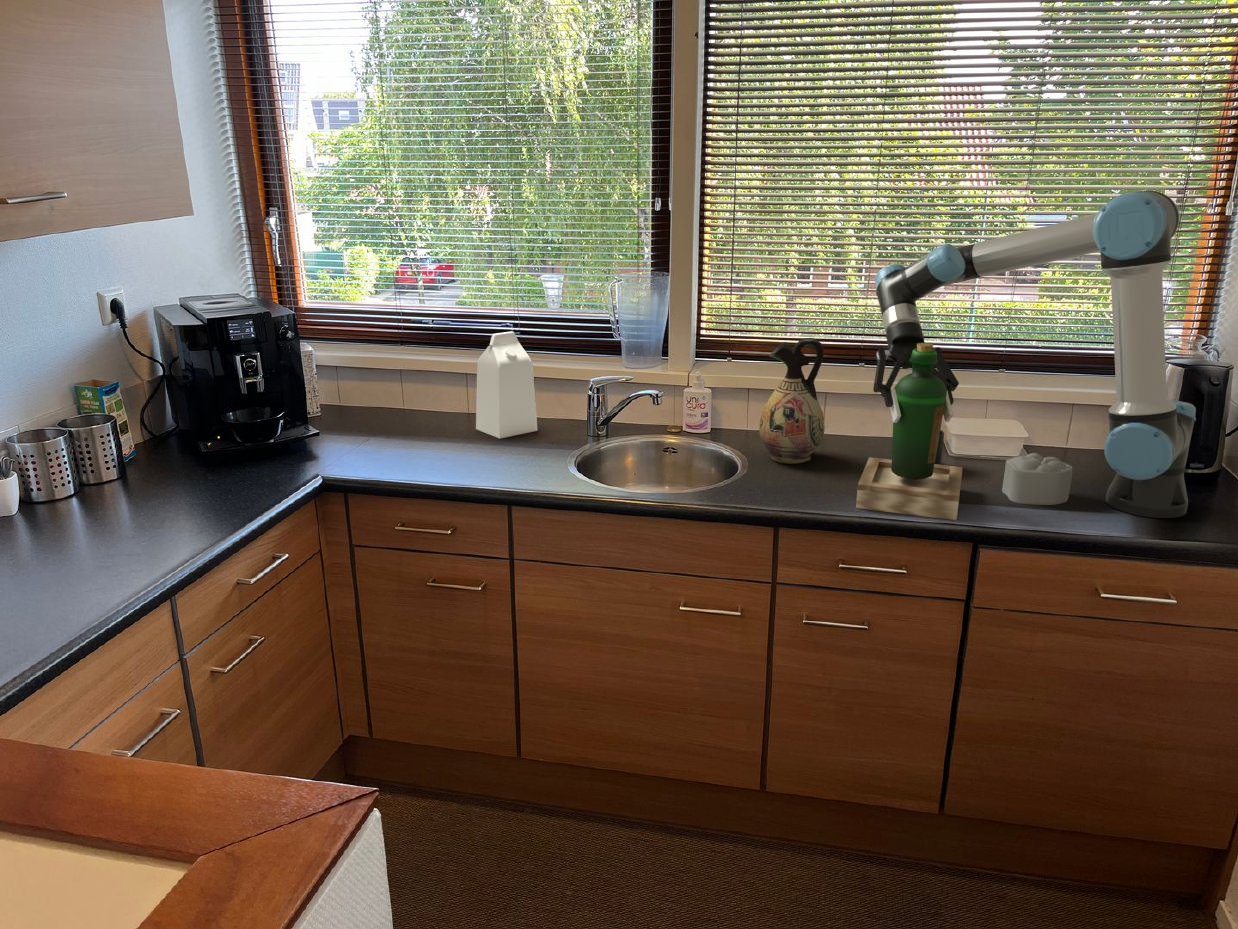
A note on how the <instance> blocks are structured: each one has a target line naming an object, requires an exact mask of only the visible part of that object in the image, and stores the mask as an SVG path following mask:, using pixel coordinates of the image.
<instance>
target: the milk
mask: <svg viewBox="0 0 1238 929" xmlns="http://www.w3.org/2000/svg"><path fill="white" fill-rule="evenodd" d="M534 378H535V377H534V366H533V361H532V360H531V357H530V355H528V353H527V351H526V350H525V349H524V348H523V346H522V345H521V342H519V340H518V337H517V335H516V333H515V332H514V331H506V332H505V331H504V332H498V333H497V332H496V333H492V335H491V337H490V343H489V345H488V346H487V347H486V349H485V350H484V351H483V353H482V354H481V355H480V356H479V357H478V360H477V364H476V401H475V402H476V405H475V406H476V408H475V411H476V412H475V430H476V431H479V432H482V433H485V434H487V435H490V436H492V437H494V438H497V439H504V438H509V437H513V436H518V435H523V434H527V433H532V432H537V431H538V418H537V404H536V390H535V379H534Z"/></svg>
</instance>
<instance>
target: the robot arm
mask: <svg viewBox="0 0 1238 929" xmlns="http://www.w3.org/2000/svg"><path fill="white" fill-rule="evenodd" d="M1179 224H1180V211H1179V209H1178V206H1177V204H1176V203H1175V201H1174V200H1173V199H1172V198H1171V197H1170V196H1168V195H1166V194H1165V193H1162V192H1161V191H1156V190H1142V191H1140V190H1139V191H1130V192H1127V193H1126V192H1125V193H1122V194H1120V195H1117V196H1115V197H1114V198H1112V199H1110V201H1108V202H1107V203H1105V205H1104V206H1102V207H1101V208H1099V211H1097V212H1096V213H1094V214H1089V215H1086V216H1082V217H1077V218H1073V219H1070V220H1065V221H1061V222H1057V223H1053V224H1049V225H1045V226H1041V227H1036V228H1033V229H1029V230H1024V231H1020V232H1017V233H1013V234H1009V235H1003V236H1001V237H997V238H993V239H988V240H983V241H979V242H977V243H972V244H968V245H963V246H959V247H956V246H954V245H952V244H951V243H944V244H942V245H941V246H938V247H937V248H933V249H932V250H930V251H929V252H928V253H926V254H925V255H923V256H922V257H921V258H918V259H917V260H916V261H914V262H913V263H911V264H909V265H907V266H904V265H902V264H898V263H897V264H896V263H895V264H891V265H889V266H884V267H882V268H881V269H880V270H879V271H877V273H876V274H875V276H874V284H875V296H876V297H877V301H878V304H879V309H880V313H881V317H882V318H881V319H882V324H883V329H884V332H885V334H886V335H885V337H886V343H887V347H888V349H884V348H883V347H879V349H878V350H877V352H876V354H875V360H876V369H875V375H874V382H873V389H872V390H873V392H874V393H876V394H877V393H880V395H881V397H883V400H884V404H885V407H887V408H889V409H890V413H891V418H892V424H893V423H897V422H898V420H899V419H900V417H901V414H900V409H899V404H898V400H897V395H896V390H895V389H894V388H892V387H893V385H894V383H895V380H896V378H897V376H898V374H899V372H900V370H901V368H902V370H904V369H905V370H907V369H912V362H910V358H911V355H912V352H913V350H914V349H917V344H918V343H925V338H924V333H923V329H922V326H921V321H920V315H919V313H918V307H917V301H919V300H920V299H922V298H924V297H925V296H927V295H929V294H930V293H933V292H934V291H936V290H938V289H940V288H943V287H946V286H950V285H952V284H957V283H962V282H966V281H970V280H976V279H980V278H984V277H987V276H992V275H997V274H1001V273H1006V272H1011V271H1015V270H1020V269H1025V268H1029V267H1033V266H1039V265H1043V264H1048V263H1052V262H1056V261H1062V260H1065V259H1066V260H1067V259H1071V258H1076V257H1081V256H1085V255H1089V254H1094V253H1099V252H1100V267H1101V270H1100V271H1102V272H1103V273H1105V275H1107V276H1108V277H1109V278H1110V288H1111V289H1110V290H1111V291H1110V294H1111V312H1112V334H1113V353H1114V354H1113V356H1114V370H1115V371H1114V372H1115V373H1114V374H1115V391H1116V392H1115V393H1116V394H1115V395H1116V401H1115V402H1114V403H1113V404H1112V405H1111V406H1110V407H1109V409H1108V427H1109V428H1108V430H1109V434H1108V435H1107V436H1106V440H1104V442H1105V443H1104V446H1103V452H1104V456H1105V461H1106V462H1107V463H1108V466H1110V468H1111V469H1112V470H1113V471H1115V472H1116V474H1115V476H1114V478H1113V479H1112V481H1111V483H1110V484H1109V487H1107V491H1106V496H1105V497H1106V498H1105V502H1106V504H1108V505H1109V506H1110V507H1111V508H1114V509H1116V510H1118V511H1121V512H1124V513H1127V514H1131V515H1135V516H1139V517H1146V518H1155V519H1174V518H1180V517H1183V516H1184V515H1186V514H1187V511H1188V507H1189V498H1188V493H1187V487H1186V483H1185V469H1186V465H1187V461H1188V460H1187V459H1188V455H1189V449H1190V444H1191V438H1192V434H1193V428H1194V424H1195V422H1196V421H1197V418H1196V413H1197V412H1196V411H1197V409H1196V406H1194V404H1192V403H1190V402H1186V401H1185V402H1184V401H1180V400H1177V399H1176V400H1174V399H1169V398H1168V397H1167V396H1168V395H1167V394H1168V391H1167V390H1168V389H1167V365H1166V364H1167V363H1166V342H1165V339H1166V338H1165V335H1166V334H1165V317H1164V316H1165V314H1164V312H1165V311H1164V309H1165V308H1164V289H1163V287H1164V286H1163V272H1164V270H1165V269H1166V268H1167V267H1168V266H1169V265H1170V264H1171V263H1172V248H1171V244H1172V243H1171V240H1172V238H1173V237H1174V236H1175V235H1176V232H1177V230H1178V228H1179ZM934 350H935V351H936V354H937V363H936V364H934V367H933V372H932V375H935V376H936V377H938V378H939V379H940V380H941V381H943V382H944V384H945V386H946V388H947V394H946V400H945V406H944V412H943V418H944V422H947V423H949V422H950V421H951V419H952V418H953V416H954V413H953V409H952V406H953V404H954V401H955V400H954V396H953V393H952V392H955V390H956V389H957V387H959V384H960V382H959V381H958V378H956V376H955V374H954V372H953V371H952V369H951V367H950V366H949V364H948V362H947V360H946V359H945V357H944V355H943V352H942V348H941V347H940V346H938V347H937V346H936V347H935V349H934ZM888 357H889V359H890V360H892V361H893V362H894V363H895V364H894V366H893V367H892V370H891V372H890V374H889V375H888V376H889V377H888V378H887V381H886V383H885V384H883V383H884V375H885V368H886V364H887V363H886V362H887V359H888Z"/></svg>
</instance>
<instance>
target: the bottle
mask: <svg viewBox="0 0 1238 929" xmlns="http://www.w3.org/2000/svg"><path fill="white" fill-rule="evenodd" d="M933 348H934V344H933V343H929V342H924V343H918V344H917V349H914V350H913V352H912V355H911V358H910V362H912V368H911V373H908V374H906V375H904V376H903V377H901V378H900V379H899V380H898V382H896V383H895V386H894V388H893V389H895V390H896V395H897V400H898V404H899V409H900V414H901V417H900V419H899V420H898V422H897V423H893V422H892V438H891V439H892V443H891V444H892V445H891V460H892V468H891V471H892V472H893V473H894V474H895V475H897V476H899V477H902V478H905V479H913V480H919V479H925V478H928V477H931V476H932V475H933V470H934V465H935V459H936V453H937V447H938V441H939V435H940V430H942V424H943V423H942V422H943V418H944V415H943V412H944V406H945V400H946V394H947V388H946V386H945V384H944V382H943V381H941V380H940V379H939V378H938V377H936V376H935V375H932V372H933V367H935V365H934V364H936V363H937V354H936V351H935V349H933Z"/></svg>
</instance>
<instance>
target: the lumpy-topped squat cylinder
mask: <svg viewBox="0 0 1238 929" xmlns="http://www.w3.org/2000/svg"><path fill="white" fill-rule="evenodd" d="M1073 469H1074V468H1073V466H1072V465H1070V464H1068V463H1067V462H1065V461H1064V462H1063V461H1061V460H1060V459H1059V458H1057V457H1054V456H1047V457H1043V456H1042V455H1040V454H1039V453H1036V452H1032V453H1031V452H1030V453H1029V454H1027V455H1026V456H1025V455H1024V456H1022V455H1021V456H1020V455H1019V456H1015V457H1012V458H1011V457H1010V458H1008V459H1007V460H1006V461H1005V467H1004V475H1003V481H1002V488H1001V492H1002V493H1003V494H1004V495H1006V496H1007V497H1008V500H1010V501H1011V502H1014V503H1017V504H1023V505H1035V506H1037V505H1040V506H1041V505H1043V506H1049V505H1050V506H1052V505H1059V504H1064V503H1066V502H1067V501H1068V500H1069V496H1070V490H1071V485H1072V484H1071V483H1072V477H1073V472H1074V470H1073Z"/></svg>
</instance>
